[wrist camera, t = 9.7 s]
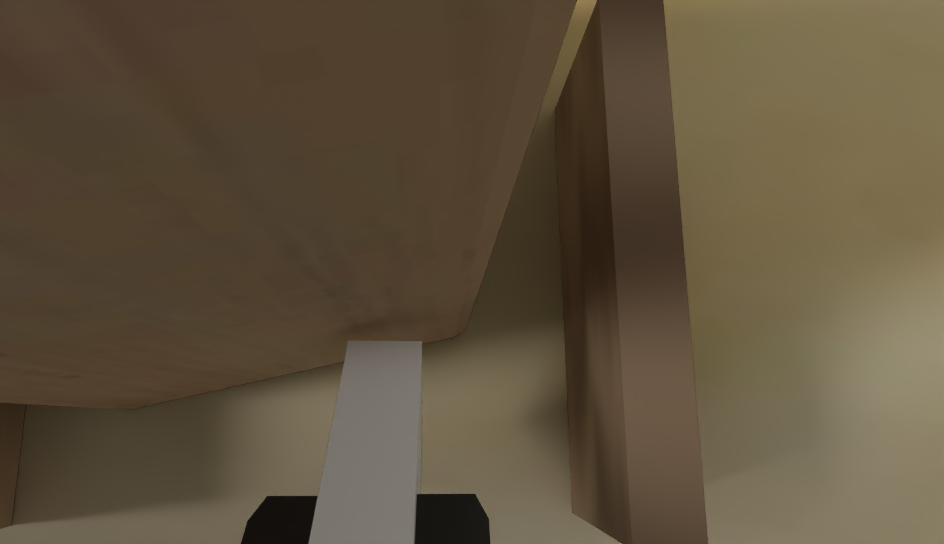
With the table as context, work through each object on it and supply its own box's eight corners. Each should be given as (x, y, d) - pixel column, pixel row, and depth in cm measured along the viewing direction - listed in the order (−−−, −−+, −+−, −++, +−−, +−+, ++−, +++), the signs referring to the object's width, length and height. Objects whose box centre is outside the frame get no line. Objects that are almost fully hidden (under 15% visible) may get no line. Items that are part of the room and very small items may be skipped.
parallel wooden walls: (625, 511, 20) (708, 548, 14) (-48, 527, 19) (-270, 573, 13) (602, 110, 22) (663, -3, 16) (9, 105, 21) (-154, -19, 15)
